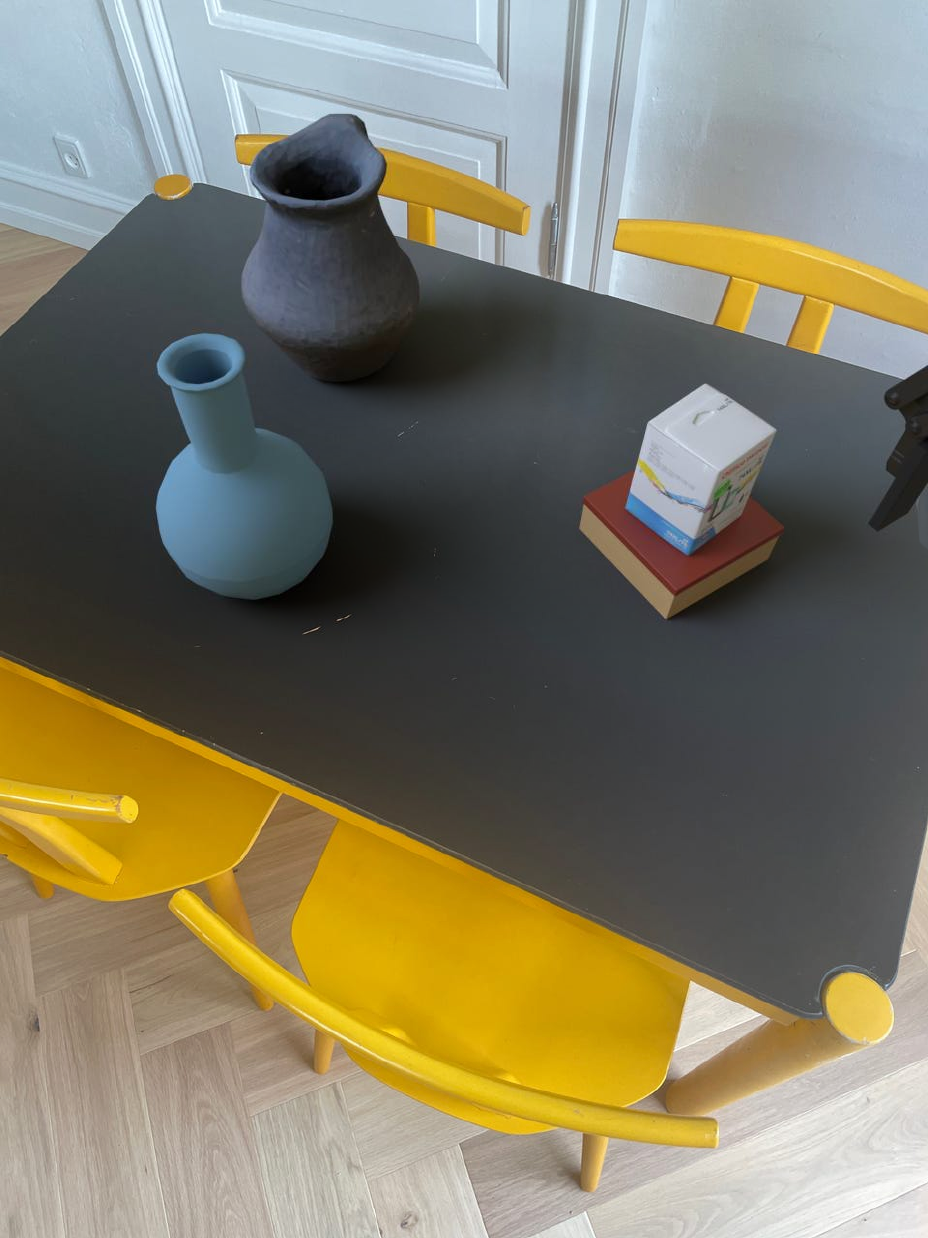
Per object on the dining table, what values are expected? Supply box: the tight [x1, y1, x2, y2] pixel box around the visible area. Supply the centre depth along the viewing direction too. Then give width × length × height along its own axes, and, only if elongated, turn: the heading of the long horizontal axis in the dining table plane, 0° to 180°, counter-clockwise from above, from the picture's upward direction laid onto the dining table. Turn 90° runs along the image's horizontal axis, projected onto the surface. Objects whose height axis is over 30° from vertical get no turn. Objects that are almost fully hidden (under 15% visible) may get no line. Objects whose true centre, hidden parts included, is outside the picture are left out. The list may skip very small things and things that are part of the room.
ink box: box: [626, 383, 778, 556], centre depth 81 cm, size 8×8×12 cm
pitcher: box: [240, 113, 421, 383], centre depth 97 cm, size 21×22×25 cm
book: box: [579, 469, 786, 620], centre depth 88 cm, size 14×14×5 cm
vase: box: [155, 332, 334, 601], centre depth 78 cm, size 16×16×25 cm
